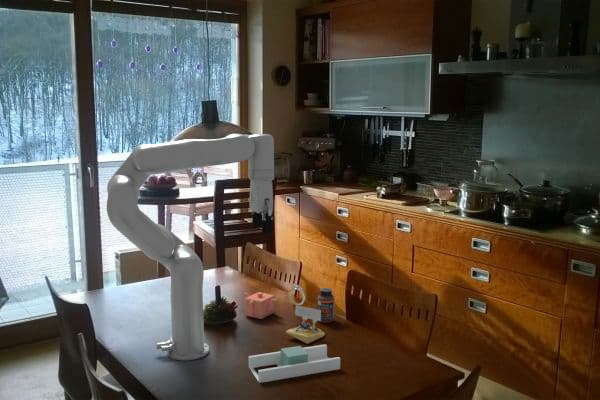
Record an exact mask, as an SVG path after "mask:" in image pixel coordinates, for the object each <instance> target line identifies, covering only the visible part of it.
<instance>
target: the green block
mask: <svg viewBox="0 0 600 400" xmlns="http://www.w3.org/2000/svg"><path fill="white" fill-rule="evenodd" d="M303 348H304V347H302V346H301V345H297V346H289V347H283V348H280V351H281V366H286V365H292V364H299V363H305V362H308V353H307V352H306V351H305V350H304V349H303Z"/></svg>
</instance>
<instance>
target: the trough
mask: <svg viewBox="0 0 600 400" xmlns="http://www.w3.org/2000/svg"><path fill="white" fill-rule="evenodd" d="M302 348H303V349H304V350H305V351H306V352H307V353H308V362H305V363H299V364H292V365H286V366H281V350H279V351H274V352H269V353H268V352H267V353H261V354H253V355H248V368H249V370H250V371H251V373H252V374H253V375H254V377H255V378H256V380H257V382H258V383H259V384H261V383H268V382H272V381H278V380H284V379H290V378H297V377H302V376H307V375H308V376H309V375H313V374H319V373H324V372H325V373H326V372H331V371H338V370H341V357H339V356H337V357H329V356H328V345H327V344H326V343H325V344H319V345H313V346H305V347H302ZM272 365H276V367H268V368H264V369H258V370H257V371H258V372H257V371H256V370H255V368H260V367H267V366H272Z"/></svg>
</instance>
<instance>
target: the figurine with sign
mask: <svg viewBox="0 0 600 400" xmlns="http://www.w3.org/2000/svg"><path fill="white" fill-rule="evenodd" d="M294 312H295V313H294V314H295V315H294V316H298V317H301V320H302V322H301V323H299V324H296V326H294V327H293V328H289V329H288V330H286V331H285V333H286V334H287V335H289V336H291V337H293V338H295V339H297V340H299V341H301V342H303V343H304V344H307V345H308V344H310V343H312V342H314V341H316V340H319V339H320V338H323V337H324V336H325V334H326V333H325V332H324V331H323V330H321V329H320V328H318V327H317V326H316V324H317V321H318V322H319V321H321V310H317V309H315V308H311V307H305V306H301V305H298V306H297V305H295V311H294ZM308 319H309V320H311V322H312V324H311V323H310V321H307V320H308ZM306 321H307V322H306ZM258 327H260V326H259V325H258Z"/></svg>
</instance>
